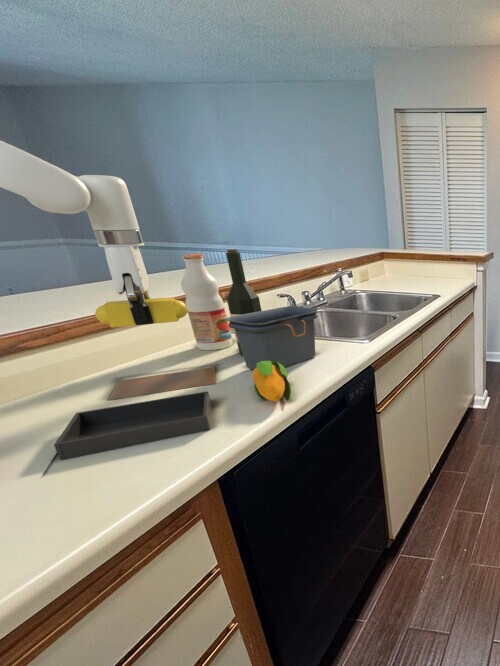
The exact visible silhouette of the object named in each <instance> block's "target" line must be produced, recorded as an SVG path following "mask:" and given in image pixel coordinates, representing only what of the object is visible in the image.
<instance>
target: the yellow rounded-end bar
mask: <svg viewBox="0 0 500 666" xmlns="http://www.w3.org/2000/svg"><path fill="white" fill-rule="evenodd" d="M145 301H146V305H147V306H149V309H150V312H151V315H152V319H153V324H152V325H155V324H166V323H176V322H179V320H180V319H183V318H184V317H185V316H187V314H188V309H187V306H186V303H184V302H183V301H182V300H179V299H175V297H174V296H170V297H156V298H155V297H154V298H150V299H145ZM94 315H95V318H96V320H98V321H99V322H100V323H102V324H104V325H109V326H110V328H111V329H112V328H113V329H114V328H122V327H123V328H124V327H133V326H137V325H136V324H135V322H134V319H133V316H132V313H131V310H130V306H129V302H128V299H127V300H112V301H106V302H105V303H104V304H102V305H100V306H98V307H97V308H96V310H95V312H94Z"/></svg>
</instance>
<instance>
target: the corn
mask: <svg viewBox="0 0 500 666" xmlns="http://www.w3.org/2000/svg"><path fill="white" fill-rule="evenodd" d="M256 365H257V367H256V368H255V369H254V370H253V371H252V380H253V385H254V391H255V392H256V394H257V396H258V397H259V398H260V399H262V400H263V401H267V400H268V401H270V402H275V403H277V402H278V401H279V400H281V399H282V398H284V400H285V401H290V399H291V395H292V394H291V393H292V388H291V385H290V382H289V380H288V376H289V375H288V371H287V370H286V367H284V366H283V365H281V364H280V363H278V362H273V363H271V361H261V362H259V363H257V364H256Z"/></svg>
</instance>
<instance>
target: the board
mask: <svg viewBox="0 0 500 666" xmlns="http://www.w3.org/2000/svg"><path fill="white" fill-rule="evenodd" d="M212 385H216V366H211V367H205V368H197V369H191V370H182V371H176V372H169V373H161V374H155V375H147V376H141V377H132V378H127V379H120V380H119V381H118V382H117V384H116V385H115V387H114V389H113V391H112V392H111V394H110V395H109V397H108V399H107V402H111V401H117V400H125V399H131V398H136V397H143V396H150V395H155V394H161V393H167V392H174V391H180V390H181V391H182V390H187V389H194V388H199V387H205V386H212Z"/></svg>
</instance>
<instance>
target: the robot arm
mask: <svg viewBox="0 0 500 666" xmlns="http://www.w3.org/2000/svg"><path fill="white" fill-rule="evenodd" d="M0 188H1V189H4V190H6V191H9V192H11V193H13V194H16V195H19V196H21V197H23V198H25V199H26V200H27V201H28V202H29V203H30V204H31V205H32V206H34V207H36V208H38V209H40V210H42V211H44V212H48V213H51V214H61V215H62V214H63V215H64V214H65V215H66V214H67V215H73V214H79V213H82V212H86V213H87V217H88V219H89V222H90V225H91V228H92V230H93V234H94V238H95V240H96V242H97V245H98V247H99V248H104V253H105V257H106V262H107V267H108V269H109V273H110V276H111V280H112V283H113V286H114V291H115V293H116V294H118V295H123V294H124V293H125V296H126V298H127V300H128V302H129V306H130V310H131V313H132V316H133V319H134V322H135V324H136V325H135V326H145V325H146V326H147V325H154V324H153V319H152V315H151V312H150V309H149V306H147V305H146V301H145V299H151V297H150V294H149V292H148V289H149V288H150V286H151V285H150V281H149V277H148V272H147V270H146V266H145V263H144V259H143V256H142V253H141V251H140V248H139V247H144V246H145V243H144V238H143V236H142V233H141V230H140V226H139V223H138V219H137V216H136V213H135V209H134V206H133V202H132V199H131V196H130V192H129V190H128V187H127V183H126V182H125V181H124V180H123V179H122V178H121V177H118V176H114V175H104V174H103V175H102V174H82V175H80V176H76V175H74V174H72V173H70V172H69V171H66V170H64V169H62V168H61V167H59V166H56V165H54V164H52V163H50V162H48V161H46V160H43V159H42V158H40V157H38V156H36V155H33V154H32V153H29V152H27V151H25V150H23V149H21V148H20V147H19V148H18V147H17V146H14V145H12V144H9V143H8V142H5V141H3V140H0Z"/></svg>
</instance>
